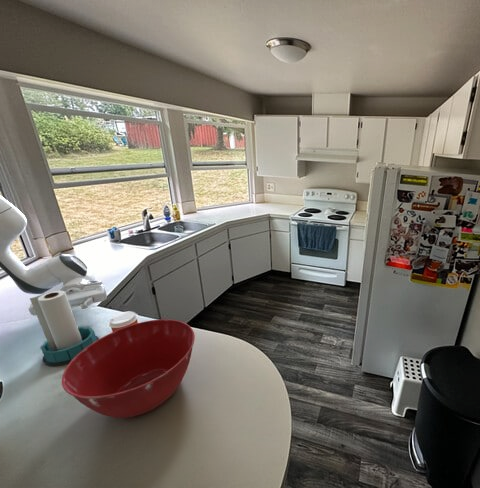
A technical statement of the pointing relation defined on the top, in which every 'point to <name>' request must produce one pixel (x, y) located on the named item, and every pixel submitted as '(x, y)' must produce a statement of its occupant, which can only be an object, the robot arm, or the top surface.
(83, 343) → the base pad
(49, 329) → the paper towel roll
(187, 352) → the mixing bowl
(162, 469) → the top surface
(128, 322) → the paper cup
